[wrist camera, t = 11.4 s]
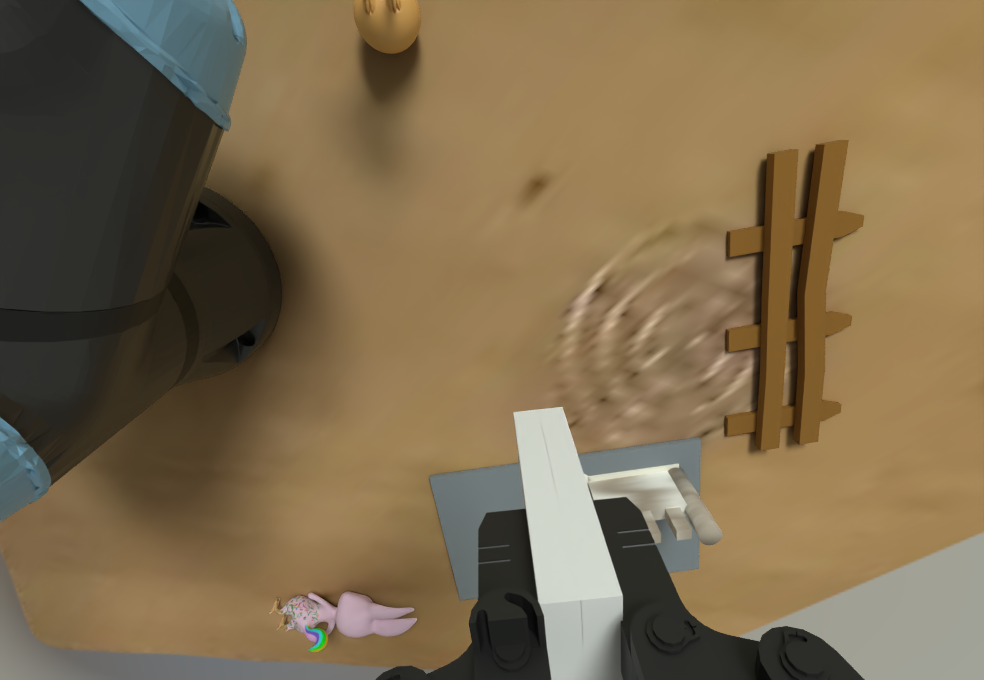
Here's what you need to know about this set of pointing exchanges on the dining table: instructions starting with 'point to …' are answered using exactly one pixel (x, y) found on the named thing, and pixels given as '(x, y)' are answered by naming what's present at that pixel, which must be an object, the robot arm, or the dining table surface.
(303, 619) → the rabbit figure
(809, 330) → the decorative fence
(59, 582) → the dining table surface
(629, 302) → the dining table surface
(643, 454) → the board
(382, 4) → the figurine
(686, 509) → the white fence section
